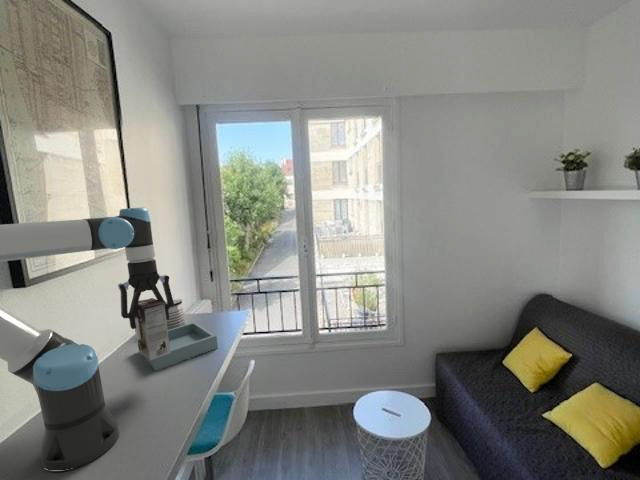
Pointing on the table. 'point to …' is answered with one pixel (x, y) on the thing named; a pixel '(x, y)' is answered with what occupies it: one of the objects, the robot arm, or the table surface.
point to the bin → (185, 345)
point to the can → (175, 315)
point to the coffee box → (152, 329)
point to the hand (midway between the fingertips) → (152, 334)
